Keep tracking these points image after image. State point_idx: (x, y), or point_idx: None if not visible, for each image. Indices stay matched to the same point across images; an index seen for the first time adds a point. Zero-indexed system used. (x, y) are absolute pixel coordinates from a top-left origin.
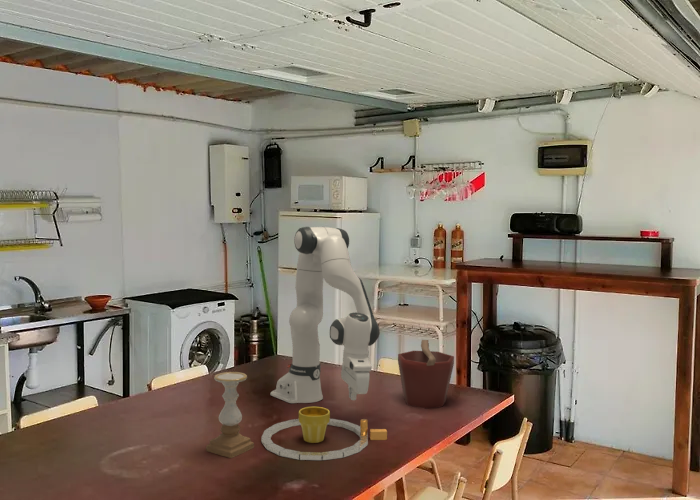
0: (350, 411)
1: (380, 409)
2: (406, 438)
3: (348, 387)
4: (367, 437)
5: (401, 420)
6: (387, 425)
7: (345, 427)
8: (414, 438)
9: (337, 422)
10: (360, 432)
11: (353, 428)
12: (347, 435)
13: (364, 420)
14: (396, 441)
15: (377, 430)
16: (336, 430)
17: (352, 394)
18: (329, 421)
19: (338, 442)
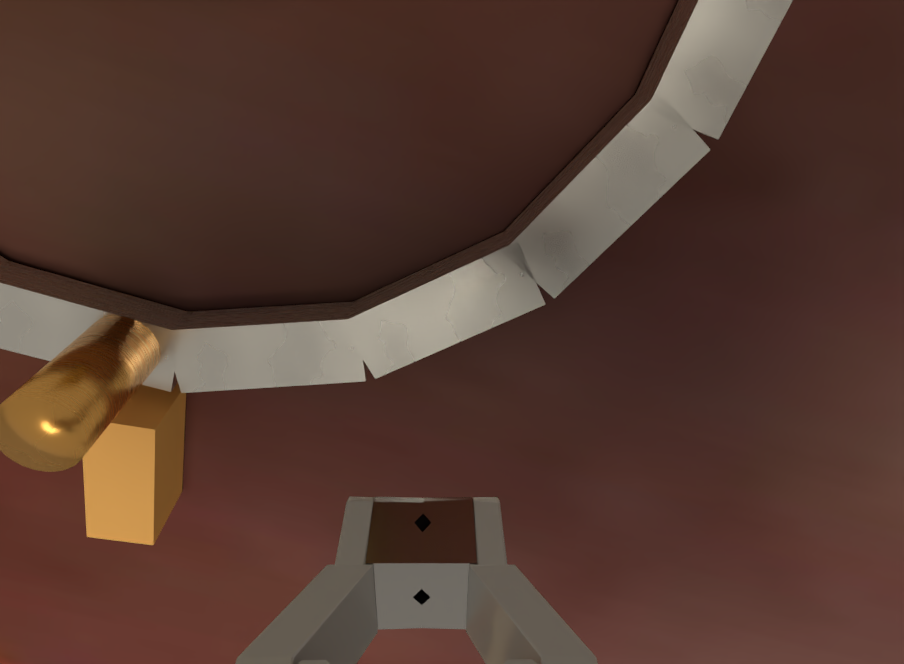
0: (880, 420)
1: (791, 611)
2: (160, 598)
3: (569, 654)
4: (44, 357)
5: None
6: None
7: (460, 255)
8: (157, 635)
9: (550, 202)
10: (102, 327)
11: (355, 311)
12: (279, 217)
13: (26, 436)
14: None
15: (116, 478)
16: (445, 150)
17: (314, 591)
18: (625, 124)
19: (75, 59)
